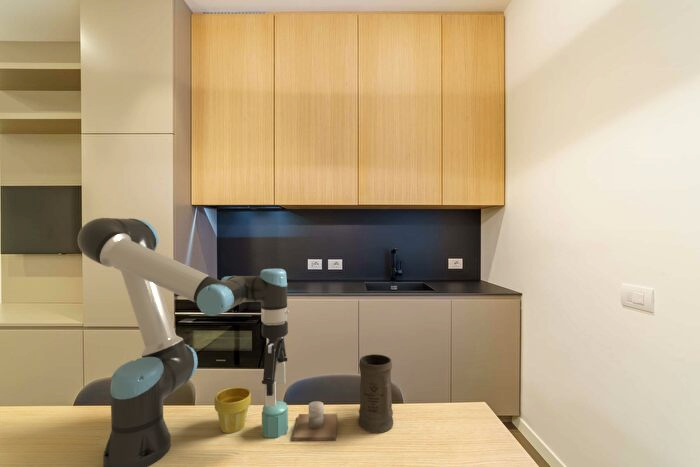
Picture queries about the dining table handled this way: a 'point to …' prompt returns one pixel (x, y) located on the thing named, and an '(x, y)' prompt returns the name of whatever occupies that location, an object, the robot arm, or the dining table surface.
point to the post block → (316, 425)
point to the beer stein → (375, 394)
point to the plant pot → (232, 408)
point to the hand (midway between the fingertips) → (276, 393)
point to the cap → (275, 420)
